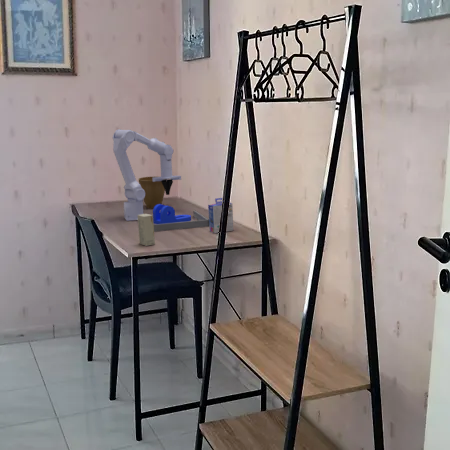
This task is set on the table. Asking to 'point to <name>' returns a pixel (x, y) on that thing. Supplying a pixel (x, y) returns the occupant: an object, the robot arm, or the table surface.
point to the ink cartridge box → (216, 214)
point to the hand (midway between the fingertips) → (167, 194)
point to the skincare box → (146, 229)
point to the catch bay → (184, 223)
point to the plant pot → (152, 191)
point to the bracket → (167, 215)
